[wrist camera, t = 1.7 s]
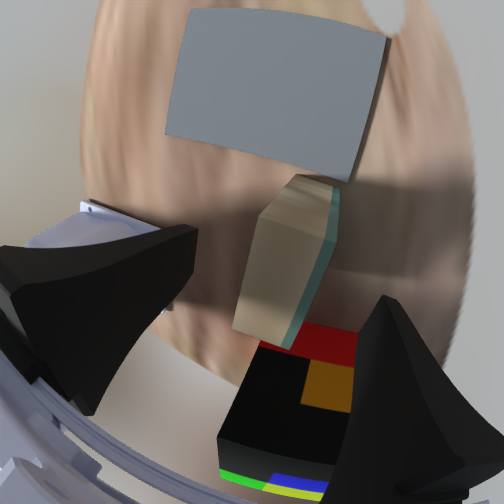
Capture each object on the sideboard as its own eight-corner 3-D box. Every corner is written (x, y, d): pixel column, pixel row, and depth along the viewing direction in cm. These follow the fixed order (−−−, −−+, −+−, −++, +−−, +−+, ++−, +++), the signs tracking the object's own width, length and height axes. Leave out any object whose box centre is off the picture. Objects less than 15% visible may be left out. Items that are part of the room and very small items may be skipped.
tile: (273, 252, 17) (231, 328, 11) (295, 174, 14) (258, 216, 8) (312, 265, 16) (289, 349, 10) (340, 188, 14) (336, 243, 8)
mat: (167, 134, 15) (164, 134, 15) (193, 10, 11) (190, 8, 11) (347, 182, 13) (347, 183, 13) (385, 37, 9) (386, 36, 9)
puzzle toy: (403, 341, 17) (409, 470, 8) (358, 410, 22) (342, 503, 13) (272, 312, 19) (216, 436, 11) (258, 388, 24) (220, 478, 15)
